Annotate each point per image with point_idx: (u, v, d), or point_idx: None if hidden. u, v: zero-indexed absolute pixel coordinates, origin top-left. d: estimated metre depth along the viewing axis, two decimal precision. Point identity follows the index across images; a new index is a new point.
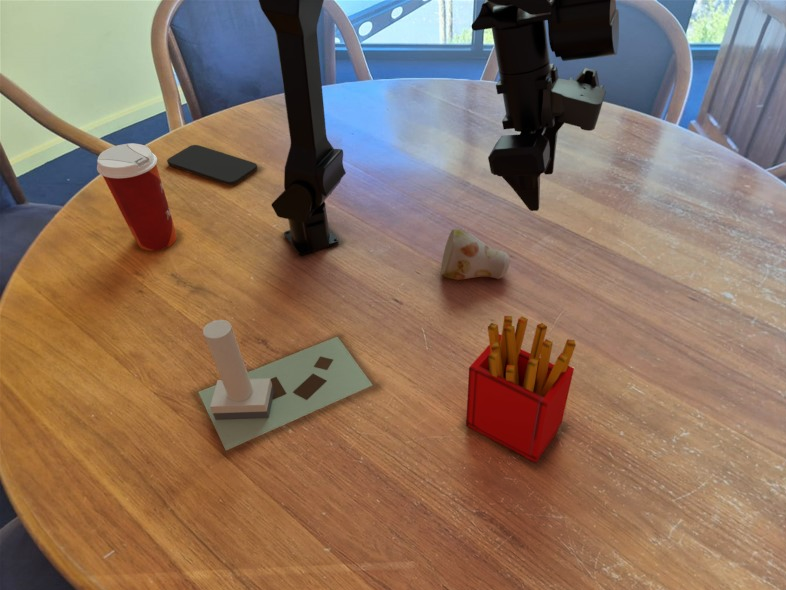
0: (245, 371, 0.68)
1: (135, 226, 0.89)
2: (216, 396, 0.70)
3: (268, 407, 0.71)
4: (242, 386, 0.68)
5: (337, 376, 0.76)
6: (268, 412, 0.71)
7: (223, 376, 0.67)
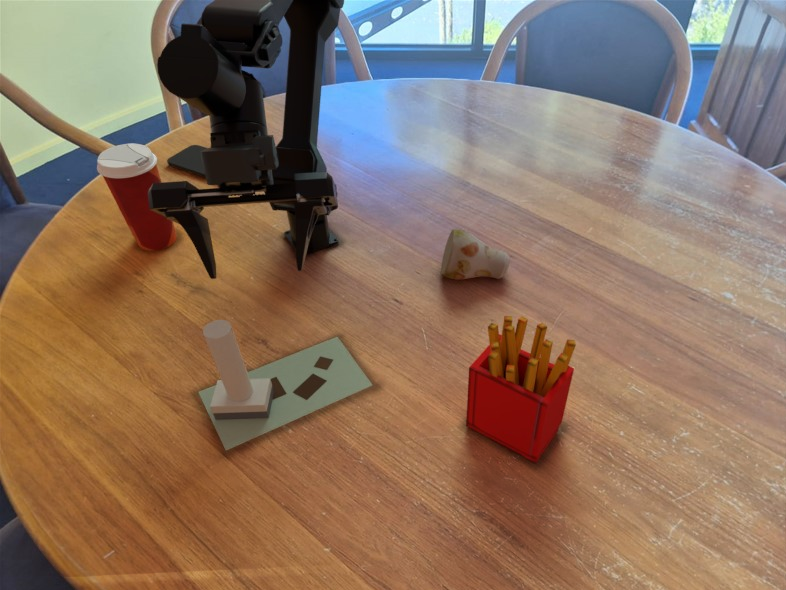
0: (245, 371, 0.68)
1: (135, 226, 0.89)
2: (216, 396, 0.70)
3: (268, 407, 0.71)
4: (242, 386, 0.68)
5: (337, 376, 0.76)
6: (268, 412, 0.71)
7: (223, 376, 0.67)
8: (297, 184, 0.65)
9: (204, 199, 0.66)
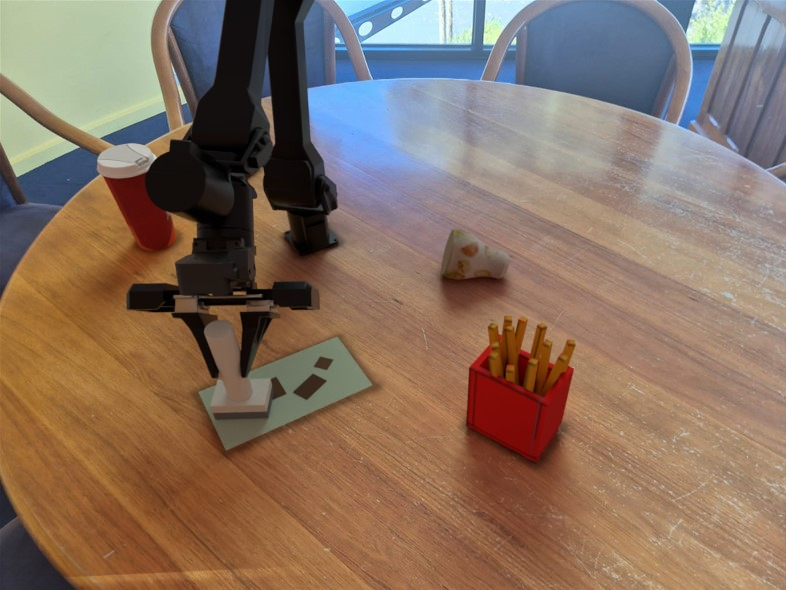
0: None
1: (135, 226, 0.89)
2: (216, 396, 0.70)
3: (268, 407, 0.71)
4: (242, 386, 0.68)
5: (337, 376, 0.76)
6: (268, 412, 0.71)
7: (224, 376, 0.67)
8: (274, 293, 0.64)
9: None
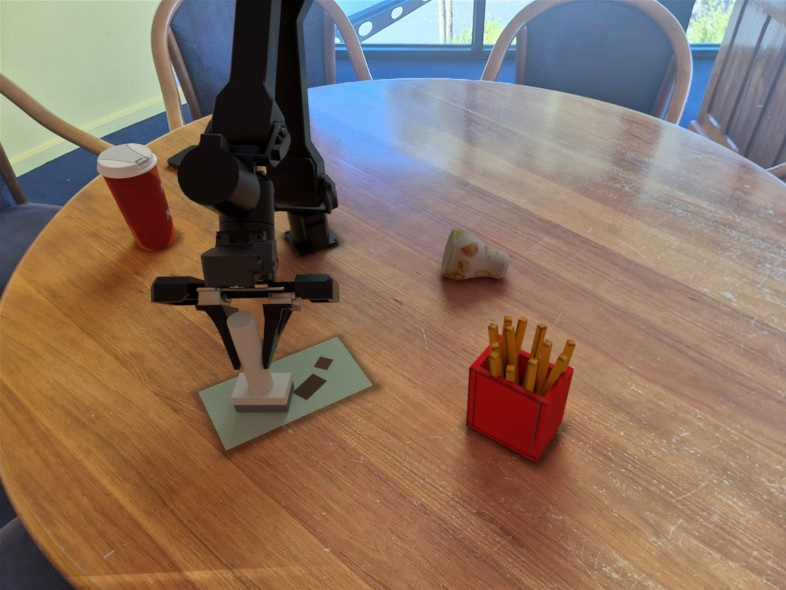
0: None
1: (135, 226, 0.89)
2: (237, 388, 0.71)
3: (288, 401, 0.71)
4: (263, 378, 0.69)
5: (337, 376, 0.76)
6: (287, 406, 0.71)
7: (245, 367, 0.67)
8: (297, 286, 0.65)
9: None
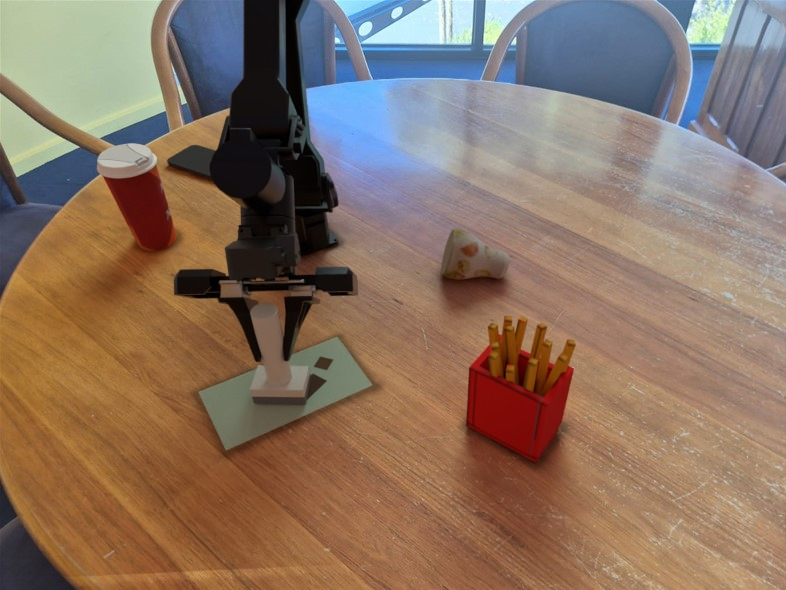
0: None
1: (135, 226, 0.89)
2: (256, 380, 0.72)
3: (305, 393, 0.72)
4: (282, 370, 0.70)
5: (337, 376, 0.76)
6: (305, 398, 0.72)
7: (266, 358, 0.68)
8: (317, 278, 0.66)
9: None
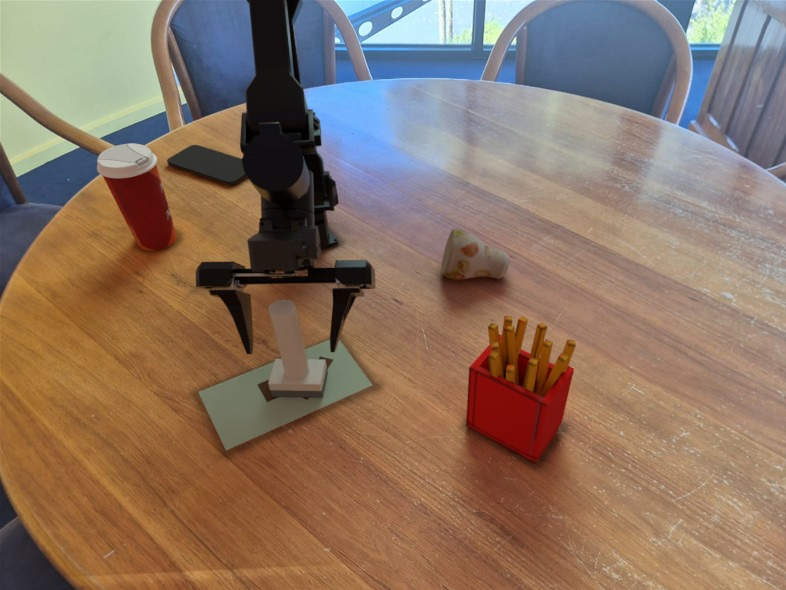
0: (304, 351, 0.70)
1: (135, 226, 0.89)
2: (274, 374, 0.73)
3: (323, 387, 0.73)
4: (300, 365, 0.71)
5: (337, 376, 0.76)
6: (322, 392, 0.73)
7: (284, 354, 0.69)
8: (337, 271, 0.67)
9: (248, 278, 0.69)
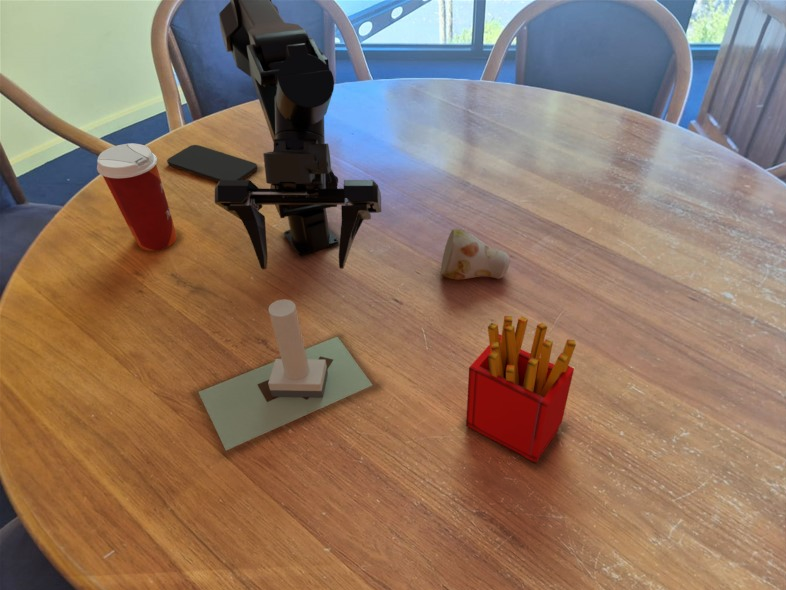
0: (304, 351, 0.70)
1: (135, 226, 0.89)
2: (274, 374, 0.73)
3: (323, 387, 0.73)
4: (300, 365, 0.71)
5: (337, 376, 0.76)
6: (322, 392, 0.73)
7: (284, 354, 0.69)
8: (346, 189, 0.72)
9: (263, 197, 0.74)
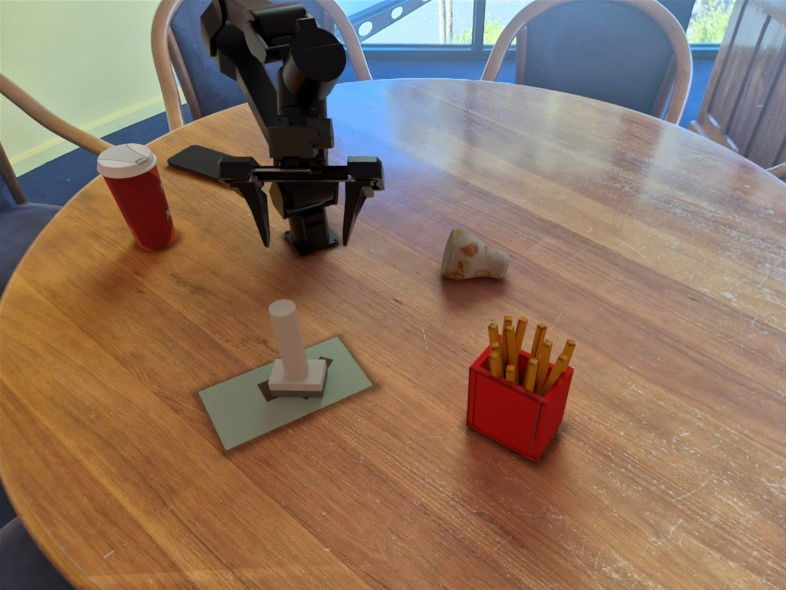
0: (304, 351, 0.70)
1: (135, 226, 0.89)
2: (274, 374, 0.73)
3: (323, 387, 0.73)
4: (300, 365, 0.71)
5: (337, 376, 0.76)
6: (322, 392, 0.73)
7: (284, 354, 0.69)
8: (349, 165, 0.71)
9: (265, 175, 0.73)
